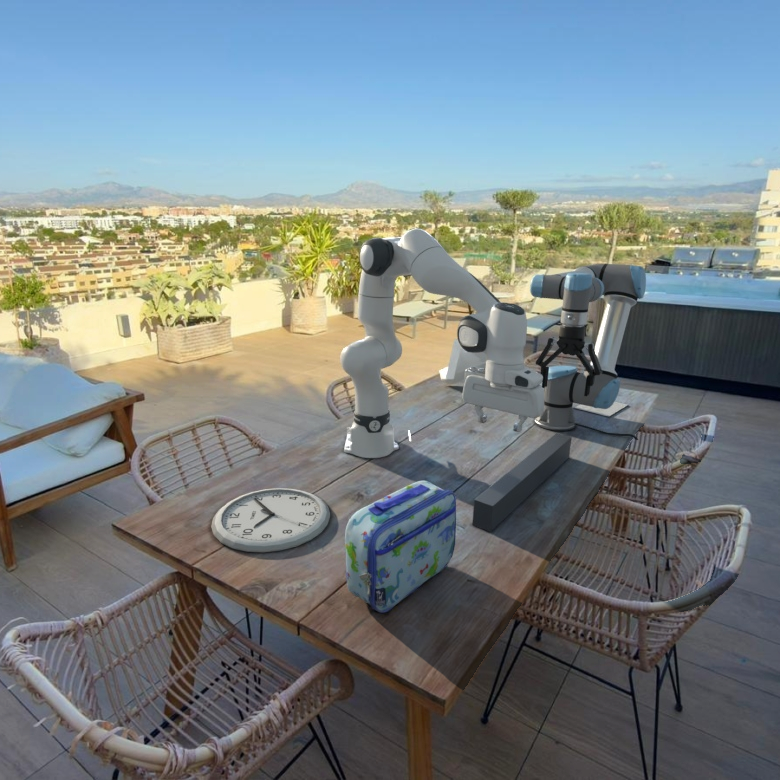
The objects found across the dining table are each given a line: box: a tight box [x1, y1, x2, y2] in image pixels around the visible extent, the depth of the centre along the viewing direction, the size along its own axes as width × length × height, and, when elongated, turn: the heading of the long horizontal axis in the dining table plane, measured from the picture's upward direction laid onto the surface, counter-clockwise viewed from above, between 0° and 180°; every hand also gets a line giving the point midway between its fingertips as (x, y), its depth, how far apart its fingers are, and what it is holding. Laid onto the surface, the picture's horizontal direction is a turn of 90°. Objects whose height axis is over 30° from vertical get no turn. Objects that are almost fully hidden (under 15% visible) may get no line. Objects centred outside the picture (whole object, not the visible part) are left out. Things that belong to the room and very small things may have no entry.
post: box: [472, 432, 572, 532], centre depth 154 cm, size 58×5×7 cm, turn 143°
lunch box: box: [344, 480, 457, 614], centre depth 109 cm, size 26×11×21 cm, turn 135°
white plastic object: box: [438, 338, 487, 386], centre depth 245 cm, size 37×45×31 cm
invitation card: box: [573, 401, 629, 418], centre depth 226 cm, size 21×1×15 cm
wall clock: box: [210, 487, 331, 553], centre depth 136 cm, size 30×2×30 cm
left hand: (499, 426), depth 129 cm, fingers open, 8 cm apart
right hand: (564, 391), depth 166 cm, fingers open, 13 cm apart
